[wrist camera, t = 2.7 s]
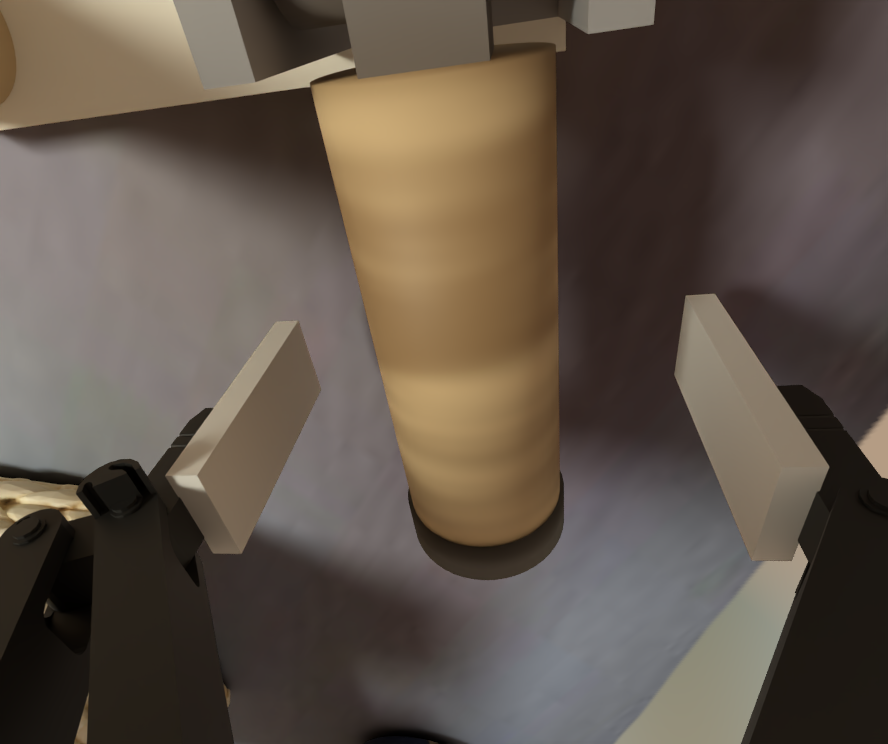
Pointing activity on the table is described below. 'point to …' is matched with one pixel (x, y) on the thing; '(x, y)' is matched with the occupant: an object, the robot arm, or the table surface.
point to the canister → (399, 740)
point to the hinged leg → (455, 263)
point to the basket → (20, 497)
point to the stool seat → (210, 50)
